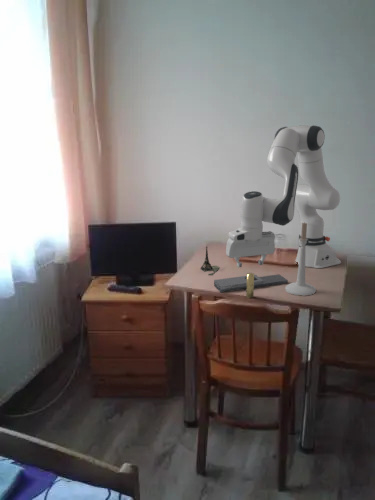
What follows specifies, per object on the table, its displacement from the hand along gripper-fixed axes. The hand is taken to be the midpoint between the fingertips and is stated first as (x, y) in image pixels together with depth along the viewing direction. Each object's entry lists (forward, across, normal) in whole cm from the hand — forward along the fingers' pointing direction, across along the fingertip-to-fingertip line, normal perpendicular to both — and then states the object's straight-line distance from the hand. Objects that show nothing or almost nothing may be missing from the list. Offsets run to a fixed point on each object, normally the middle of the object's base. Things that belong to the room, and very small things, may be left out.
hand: (250, 265), depth 182 cm
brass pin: (+14, 0, 0) cm, 14 cm away
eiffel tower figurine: (+14, +5, -37) cm, 40 cm away
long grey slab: (+14, -6, -12) cm, 19 cm away
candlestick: (+14, -24, +1) cm, 27 cm away
